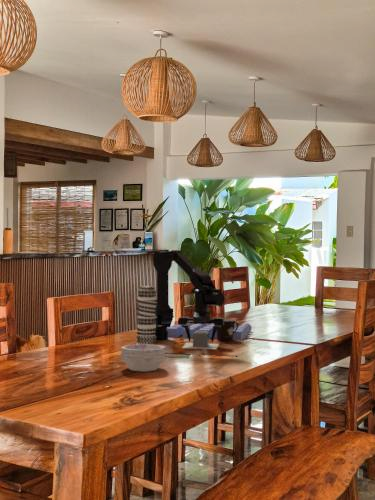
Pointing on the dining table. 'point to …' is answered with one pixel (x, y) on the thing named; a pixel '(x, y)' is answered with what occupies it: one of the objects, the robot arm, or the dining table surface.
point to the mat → (177, 355)
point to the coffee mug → (226, 330)
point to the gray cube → (200, 339)
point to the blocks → (178, 331)
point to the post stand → (190, 345)
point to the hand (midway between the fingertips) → (200, 341)
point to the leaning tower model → (146, 315)
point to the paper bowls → (143, 357)
